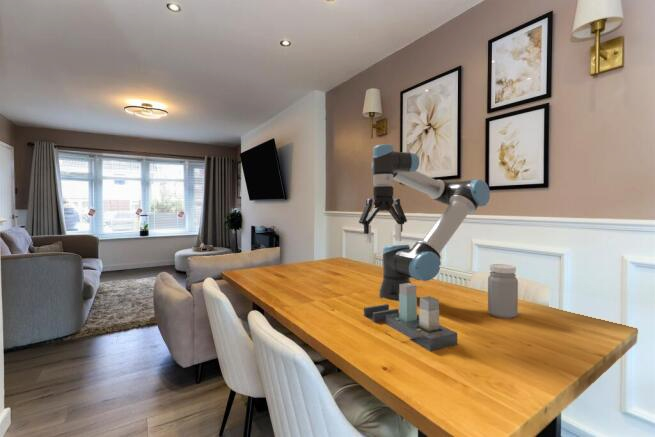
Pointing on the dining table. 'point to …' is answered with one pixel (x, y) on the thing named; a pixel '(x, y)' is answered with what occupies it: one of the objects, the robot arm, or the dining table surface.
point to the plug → (407, 302)
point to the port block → (425, 326)
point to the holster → (378, 312)
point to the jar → (503, 291)
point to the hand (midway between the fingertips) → (383, 241)
